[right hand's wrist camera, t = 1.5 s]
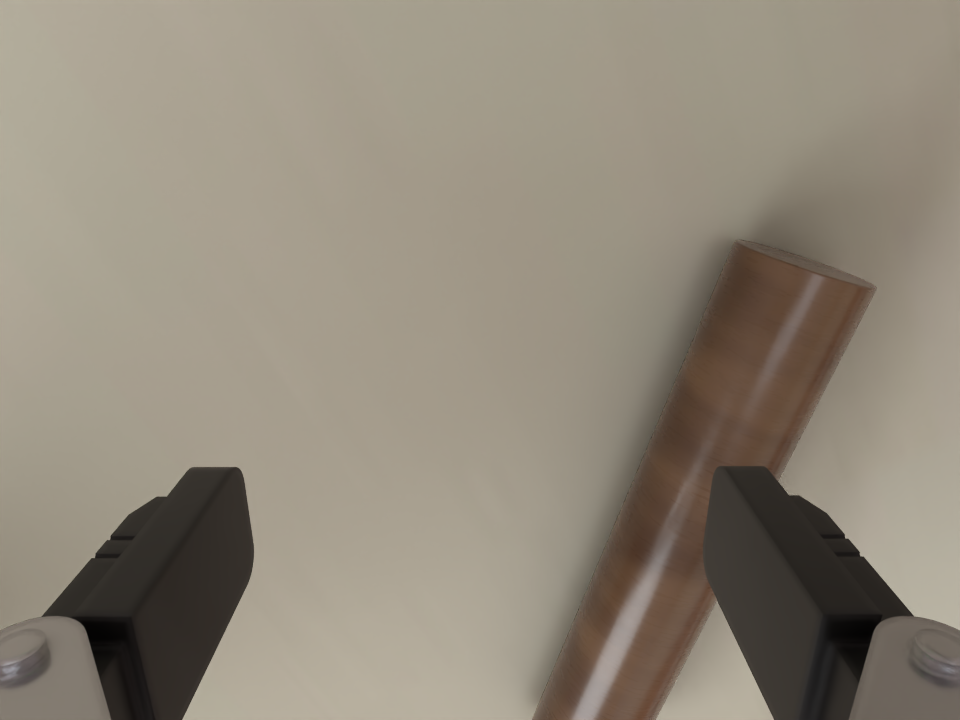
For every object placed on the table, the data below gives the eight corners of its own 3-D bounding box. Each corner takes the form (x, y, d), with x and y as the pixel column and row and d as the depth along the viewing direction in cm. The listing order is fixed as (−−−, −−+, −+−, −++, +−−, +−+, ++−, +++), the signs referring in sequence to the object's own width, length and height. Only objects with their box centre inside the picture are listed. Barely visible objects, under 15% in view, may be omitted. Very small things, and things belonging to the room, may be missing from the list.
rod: (716, 230, 28) (768, 258, 23) (832, 265, 29) (907, 299, 24) (522, 702, 38) (529, 794, 33) (612, 721, 38) (632, 815, 33)
